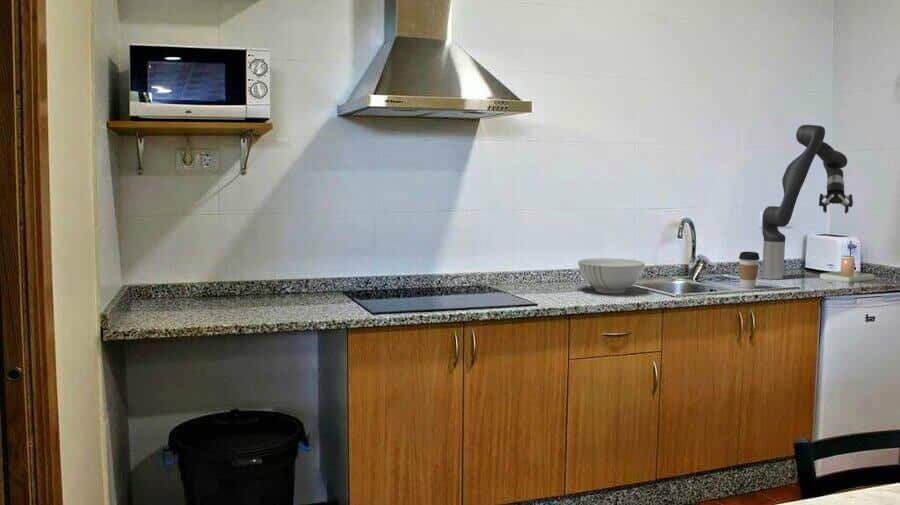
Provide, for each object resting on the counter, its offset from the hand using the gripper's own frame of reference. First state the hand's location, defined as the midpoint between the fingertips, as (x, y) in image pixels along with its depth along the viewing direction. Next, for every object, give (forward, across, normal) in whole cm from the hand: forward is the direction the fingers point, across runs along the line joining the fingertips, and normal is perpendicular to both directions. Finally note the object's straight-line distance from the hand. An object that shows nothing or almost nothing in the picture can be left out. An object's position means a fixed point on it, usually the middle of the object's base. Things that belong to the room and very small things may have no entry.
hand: (835, 211), depth 363 cm
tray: (+26, +6, +17) cm, 32 cm away
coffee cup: (+58, -36, -15) cm, 70 cm away
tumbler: (+25, +6, +17) cm, 31 cm away
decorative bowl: (+83, -88, -39) cm, 127 cm away
